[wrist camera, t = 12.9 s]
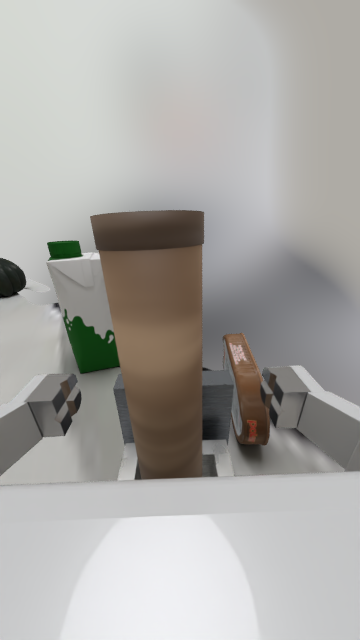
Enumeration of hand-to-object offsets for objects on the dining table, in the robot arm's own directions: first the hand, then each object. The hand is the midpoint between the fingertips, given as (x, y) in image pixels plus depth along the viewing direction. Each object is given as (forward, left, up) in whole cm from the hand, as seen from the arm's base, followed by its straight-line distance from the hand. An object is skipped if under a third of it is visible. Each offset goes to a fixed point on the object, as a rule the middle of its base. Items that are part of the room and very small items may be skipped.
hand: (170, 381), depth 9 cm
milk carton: (+12, +25, -16) cm, 32 cm away
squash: (+19, +91, -16) cm, 94 cm away
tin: (+15, +1, -16) cm, 22 cm away
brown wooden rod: (-1, -1, -11) cm, 12 cm away
